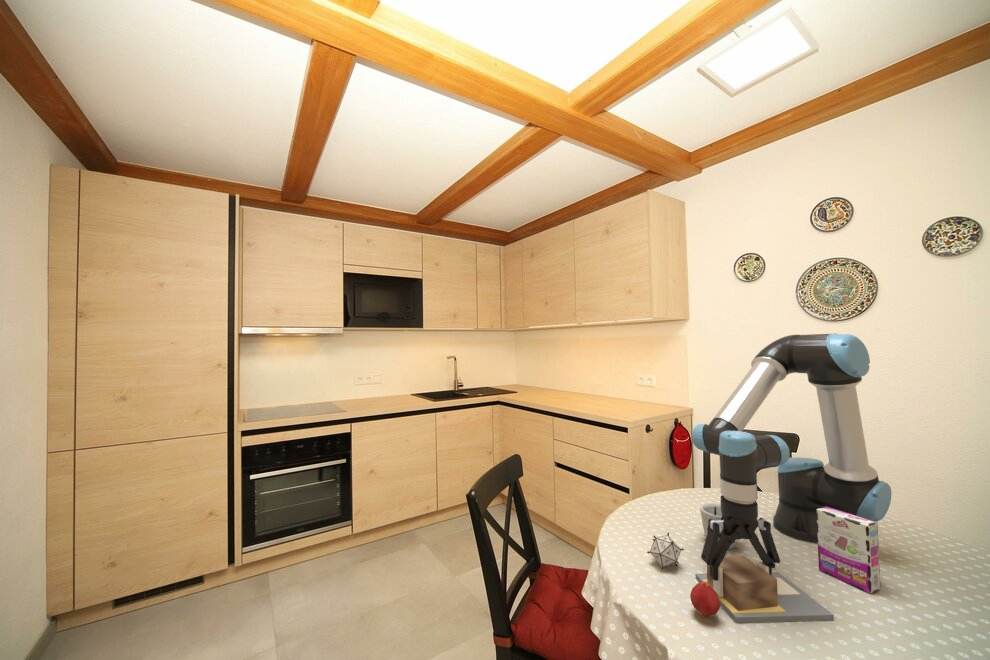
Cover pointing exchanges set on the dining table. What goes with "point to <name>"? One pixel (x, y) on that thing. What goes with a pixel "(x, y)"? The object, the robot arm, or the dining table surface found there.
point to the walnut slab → (746, 584)
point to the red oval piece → (705, 599)
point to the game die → (665, 551)
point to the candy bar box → (848, 548)
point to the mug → (711, 517)
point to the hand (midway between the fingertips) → (741, 592)
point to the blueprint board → (779, 605)
